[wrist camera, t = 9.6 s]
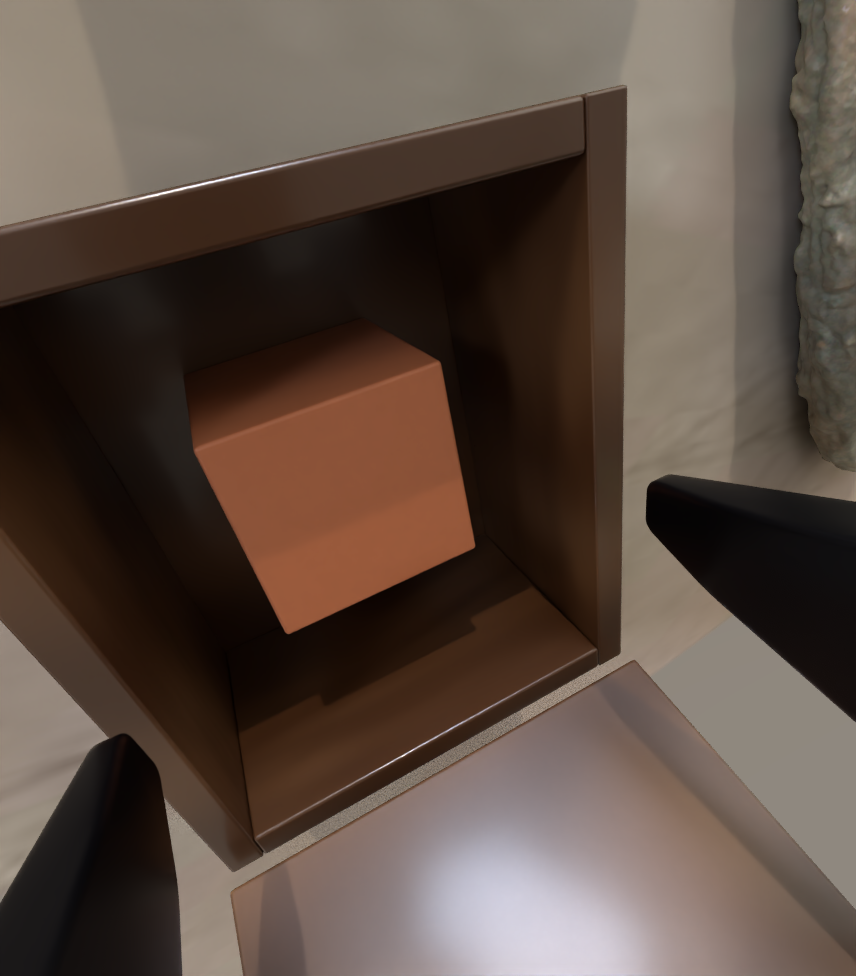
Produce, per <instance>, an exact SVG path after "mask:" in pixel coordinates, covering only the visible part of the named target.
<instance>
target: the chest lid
mask: <svg viewBox="0 0 856 976" xmlns="http://www.w3.org/2000/svg"><path fill="white" fill-rule="evenodd" d="M231 902H232V908H233V914H234V920H235V927H236V933H237V939H238V945H239V951H240V958H241V964H242V970H243V976H856V910H855V909H854V908H853V906H852V905H851V904H850V903H849V902H848V901H847V900H846V898H845V897H844V896H843V895H842V894H841V893H840V892H839V890H838V889H837V888H836V887H835V886H834V885H833V884H832V883H831V882H830V880H829V879H828V878H827V877H826V876H825V875H824V874H823V872H822V871H821V870H820V869H819V868H818V867H817V866H816V864H815V863H814V862H813V861H812V860H811V859H810V858H809V857H808V855H807V854H806V853H805V852H804V851H803V850H802V849H801V848H800V847H799V845H798V844H797V843H796V842H795V841H794V840H793V838H792V837H791V836H790V835H789V834H788V833H787V832H786V830H785V829H784V828H783V827H782V826H781V825H780V824H779V823H778V821H777V820H776V819H775V818H774V817H773V816H772V815H771V813H770V812H769V811H768V810H767V809H766V808H765V807H764V806H763V805H762V803H761V802H760V801H759V800H758V799H757V798H756V796H755V795H754V794H753V793H752V792H751V791H750V790H749V789H748V787H747V786H746V785H745V784H744V783H743V782H742V781H741V780H740V779H739V777H738V776H737V775H736V774H735V773H734V772H733V771H732V769H731V768H730V767H729V766H728V765H727V764H726V763H725V761H724V760H723V759H722V758H721V757H720V756H719V755H718V753H717V752H716V751H715V750H714V749H713V748H712V747H711V746H710V744H709V743H708V742H707V741H706V740H705V739H704V738H703V737H702V735H701V734H700V733H699V732H698V731H697V730H696V729H695V728H694V726H692V724H691V723H690V722H689V721H688V720H687V719H686V717H685V716H684V715H683V714H682V713H681V712H680V711H679V709H678V708H677V707H676V706H675V705H674V704H673V703H672V702H671V700H670V699H669V698H668V697H667V696H666V695H665V693H664V692H663V691H662V690H661V689H660V688H659V687H658V686H657V684H656V683H655V682H654V681H653V680H652V679H651V678H650V676H649V675H648V674H647V673H646V672H645V671H644V670H643V669H642V667H641V666H640V665H639V664H638V663H637V662H636V661H635V660H632V661H630V662H629V663H627V664H625V665H623V666H622V667H620V668H618V669H617V670H615V671H613V672H611V673H610V674H608V675H606V676H604V677H603V678H601V679H599V680H597V681H596V682H594V683H592V684H590V685H589V686H587V687H585V688H583V689H582V690H580V691H578V692H576V693H575V694H573V695H571V696H570V697H568V698H566V699H564V700H563V701H561V702H559V703H557V704H556V705H554V706H552V707H550V708H549V709H547V710H545V711H543V712H542V713H540V714H538V715H536V716H535V717H533V718H531V719H530V720H528V721H526V722H524V723H523V724H521V725H519V726H517V727H516V728H514V729H512V730H510V731H509V732H507V733H505V734H503V735H502V736H500V737H498V738H496V739H495V740H493V741H491V742H489V743H488V744H486V745H484V746H483V747H481V748H479V749H477V750H476V751H474V752H472V753H470V754H469V755H467V756H465V757H463V758H462V759H460V760H458V761H456V762H455V763H453V764H451V765H449V766H448V767H446V768H444V769H442V770H441V771H439V772H437V773H436V774H434V775H432V776H430V777H429V778H427V779H425V780H423V781H422V782H420V783H418V784H416V785H415V786H413V787H411V788H409V789H408V790H406V791H404V792H402V793H401V794H399V795H397V796H396V797H394V798H392V799H390V800H389V801H387V802H385V803H383V804H382V805H380V806H378V807H376V808H375V809H373V810H371V811H369V812H368V813H366V814H364V815H362V816H361V817H359V818H357V819H355V820H354V821H352V822H350V823H349V824H347V825H345V826H343V827H342V828H340V829H338V830H336V831H335V832H333V833H331V834H329V835H328V836H326V837H324V838H322V839H321V840H319V841H317V842H315V843H314V844H312V845H310V846H308V847H307V848H305V849H303V850H302V851H300V852H298V853H296V854H295V855H293V856H291V857H289V858H288V859H286V860H284V861H282V862H281V863H279V864H277V865H275V866H274V867H272V868H270V869H268V870H267V871H265V872H263V873H261V874H260V875H258V876H256V877H255V878H253V879H251V880H249V881H248V882H246V883H244V884H242V885H241V886H239V887H237V888H235V889H234V890H233V891H232V892H231Z"/></svg>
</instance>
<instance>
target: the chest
mask: <svg viewBox="0 0 856 976" xmlns="http://www.w3.org/2000/svg"><path fill="white" fill-rule="evenodd" d="M626 146H627V86H625V85H620V86H616V87H611V88H607V89H603V90H598V91H594V92H589V93H585V94H581V95H576V96H572V97H568V98H563V99H559V100H554V101H550V102H546V103H541V104H537V105H532V106H528V107H524V108H519V109H515V110H510V111H506V112H502V113H497V114H493V115H489V116H484V117H480V118H475V119H471V120H467V121H462V122H458V123H453V124H449V125H445V126H440V127H436V128H431V129H427V130H423V131H418V132H414V133H409V134H405V135H401V136H396V137H392V138H387V139H383V140H379V141H374V142H370V143H365V144H361V145H357V146H352V147H348V148H344V149H339V150H335V151H330V152H326V153H322V154H317V155H313V156H308V157H304V158H300V159H295V160H291V161H286V162H282V163H278V164H273V165H269V166H264V167H260V168H256V169H251V170H247V171H242V172H238V173H234V174H229V175H225V176H220V177H216V178H212V179H207V180H203V181H198V182H194V183H190V184H185V185H181V186H177V187H172V188H168V189H163V190H159V191H155V192H150V193H146V194H141V195H137V196H133V197H128V198H124V199H119V200H115V201H111V202H106V203H102V204H97V205H93V206H89V207H84V208H80V209H75V210H71V211H67V212H62V213H58V214H53V215H49V216H45V217H40V218H36V219H31V220H27V221H23V222H18V223H14V224H10V225H5V226H1V227H0V620H1V621H2V622H3V623H4V625H5V626H6V627H7V628H8V629H9V630H10V631H11V632H12V633H13V634H14V635H15V636H16V638H17V639H18V640H19V641H20V642H21V643H22V644H23V645H24V646H25V647H26V648H27V649H28V651H29V652H30V653H31V654H32V655H33V656H34V657H35V658H36V659H37V660H38V661H39V663H40V664H41V665H42V666H43V667H44V668H45V669H46V670H47V671H48V672H49V673H50V674H51V676H52V677H53V678H54V679H55V680H56V681H57V682H58V683H59V684H60V685H61V686H62V687H63V689H64V690H65V691H66V692H67V693H68V694H69V695H70V696H71V697H72V698H73V699H74V701H75V702H76V703H77V704H78V705H79V706H80V707H81V708H82V709H83V710H84V711H85V712H86V714H87V715H88V716H89V717H90V718H91V719H92V720H93V721H94V722H95V723H96V724H97V725H98V727H99V728H100V729H101V730H102V731H103V732H104V733H105V734H106V735H107V736H108V737H109V738H112V737H114V736H116V735H118V734H121V733H126V734H128V735H130V736H131V737H132V738H133V739H134V740H135V741H136V742H137V744H138V745H139V746H140V747H141V748H142V749H143V750H144V751H145V753H146V754H147V755H148V756H149V757H150V758H151V759H152V761H153V762H154V763H155V765H156V766H157V769H158V771H159V774H160V778H161V783H162V789H163V796H164V798H165V799H166V800H167V801H168V803H169V804H170V805H171V806H172V807H173V808H174V809H175V810H176V811H177V812H178V813H179V815H180V816H181V817H182V818H183V819H184V820H185V821H186V822H187V823H188V824H189V825H190V826H191V828H192V829H193V830H194V831H195V832H196V833H197V834H198V835H199V836H200V837H201V838H202V839H203V841H204V842H205V843H206V844H207V845H208V846H209V847H210V848H211V849H212V850H213V851H214V853H215V854H216V855H217V856H218V857H219V858H220V859H221V860H222V861H223V862H224V863H225V864H226V866H227V867H228V868H229V869H230V870H231V871H232V872H235V871H237V870H239V869H241V868H242V867H244V866H246V865H248V864H249V863H251V862H253V861H255V860H256V859H258V858H260V857H262V856H263V851H264V853H268V852H270V851H272V850H274V849H275V848H277V847H279V846H281V845H283V844H284V843H286V842H288V841H290V840H291V839H293V838H295V837H297V836H298V835H300V834H302V833H304V832H306V831H307V830H309V829H311V828H313V827H314V826H316V825H318V824H320V823H321V822H323V821H325V820H327V819H328V818H330V817H332V816H334V815H336V814H337V813H339V812H341V811H343V810H344V809H346V808H348V807H350V806H351V805H353V804H355V803H357V802H358V801H360V800H362V799H364V798H366V797H367V796H369V795H371V794H373V793H374V792H376V791H378V790H380V789H381V788H383V787H385V786H387V785H389V784H390V783H392V782H394V781H396V780H397V779H399V778H401V777H403V776H404V775H406V774H408V773H410V772H411V771H413V770H415V769H417V768H419V767H420V766H422V765H424V764H426V763H427V762H429V761H431V760H433V759H434V758H436V757H438V756H440V755H442V754H443V753H445V752H447V751H449V750H450V749H452V748H454V747H456V746H457V745H459V744H461V743H463V742H464V741H466V740H468V739H470V738H472V737H473V736H475V735H477V734H479V733H480V732H482V731H484V730H486V729H487V728H489V727H491V726H493V725H494V724H496V723H498V722H500V721H502V720H503V719H505V718H507V717H509V716H510V715H512V714H514V713H516V712H517V711H519V710H521V709H523V708H525V707H526V706H528V705H530V704H532V703H533V702H535V701H537V700H539V699H540V698H542V697H544V696H546V695H547V694H549V693H551V692H553V691H555V690H556V689H558V688H560V687H562V686H563V685H565V684H567V683H569V682H570V681H572V680H574V679H576V678H577V677H579V676H581V675H583V674H585V673H586V672H588V671H590V670H592V669H593V668H595V667H597V665H598V664H599V665H601V664H603V663H605V662H607V661H608V660H610V659H612V658H614V657H616V656H617V655H619V654H620V653H621V579H622V492H623V406H624V319H625V233H626ZM361 318H365V319H367V320H368V321H370V322H372V323H374V324H375V325H377V326H379V327H381V328H382V329H384V330H386V331H388V332H389V333H391V334H393V335H395V336H397V337H398V338H400V339H402V340H404V341H405V342H407V343H409V344H411V345H412V346H414V347H416V348H418V349H419V350H421V351H423V352H425V353H426V354H428V355H430V356H432V357H433V358H435V359H437V360H439V361H440V363H441V366H442V372H443V377H444V382H445V388H446V393H447V398H448V403H449V409H450V414H451V419H452V425H453V430H454V435H455V440H456V446H457V451H458V456H459V462H460V467H461V472H462V477H463V483H464V488H465V493H466V499H467V504H468V509H469V514H470V520H471V525H472V530H473V536H474V541H475V548H474V549H472V550H469V551H467V552H465V553H463V554H461V555H459V556H457V557H454V558H452V559H450V560H448V561H446V562H444V563H441V564H439V565H437V566H435V567H433V568H431V569H429V570H426V571H424V572H422V573H420V574H418V575H416V576H414V577H411V578H409V579H407V580H405V581H403V582H401V583H399V584H396V585H394V586H392V587H390V588H388V589H386V590H383V591H381V592H379V593H377V594H375V595H373V596H371V597H368V598H366V599H364V600H362V601H360V602H358V603H356V604H353V605H351V606H349V607H347V608H345V609H343V610H340V611H338V612H336V613H334V614H332V615H330V616H328V617H325V618H323V619H321V620H319V621H317V622H315V623H313V624H310V625H308V626H306V627H304V628H302V629H300V630H298V631H295V632H293V633H291V634H287V633H286V632H285V631H284V629H283V627H282V625H281V623H280V621H279V619H278V617H277V615H276V613H275V611H274V609H273V607H272V605H271V603H270V601H269V599H268V598H267V596H266V594H265V592H264V590H263V588H262V586H261V584H260V582H259V580H258V578H257V576H256V574H255V572H254V570H253V568H252V566H251V564H250V562H249V560H248V558H247V556H246V554H245V552H244V550H243V548H242V546H241V544H240V542H239V540H238V538H237V536H236V534H235V532H234V530H233V528H232V526H231V524H230V522H229V521H228V519H227V517H226V515H225V513H224V511H223V509H222V507H221V505H220V503H219V501H218V499H217V497H216V495H215V493H214V491H213V489H212V487H211V485H210V483H209V481H208V479H207V477H206V475H205V473H204V471H203V469H202V467H201V465H200V463H199V461H198V459H197V457H196V455H195V453H194V450H193V443H192V436H191V429H190V422H189V415H188V408H187V400H186V393H185V386H184V379H183V376H184V375H186V374H189V373H192V372H195V371H198V370H201V369H204V368H208V367H211V366H214V365H217V364H220V363H223V362H226V361H229V360H233V359H236V358H239V357H242V356H245V355H248V354H251V353H254V352H258V351H261V350H264V349H267V348H270V347H273V346H276V345H279V344H283V343H286V342H289V341H292V340H295V339H298V338H301V337H304V336H308V335H311V334H314V333H317V332H320V331H323V330H326V329H329V328H333V327H336V326H339V325H342V324H345V323H348V322H351V321H354V320H358V319H361Z"/></svg>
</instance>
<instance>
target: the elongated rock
mask: <svg viewBox="0 0 856 976" xmlns="http://www.w3.org/2000/svg"><path fill="white" fill-rule="evenodd" d="M797 1H798V4H799V11H798V18H799V21H800V22H801V28H802V32H801V35H802V38H801V40H800V43H799V46H798V49H797V52H796V56H795V66H796V70H797V74H796V75H795V76H794V77H793V79H792V92H791V95H790V109H791V111H792V114H793V116H794V117H795V119H796V120H797V123H798V128H799V132H798V137H799V140H800V144H801V151H802V154H801V161H802V163H803V167H802V171H801V174H800V181H801V191H802V194H803V196H804V203H803V206H802V209H801V210H800V212H799V214H798V218H799V219H800V220H801V221H802V223H803V230H802V232H801V235H800V237H801V241H800V244H799V246H798V247H797V248H796V251H795V254H794V269H795V272H796V274H798V276H797V282H796V287H795V289H796V296H797V303H798V305H799V311H800V313H801V320H800V331H799V340H800V351H799V356H798V363H797V366H798V368H799V371H798V373H797V375H796V382H797V384H798V386H799V391H798V394H799V395H800V396H802V397H804V398H806V400H807V402H808V408H809V409H808V419H809V424H810V430H809V431H810V434H811V435H812V437H813V439H814V440H815V442H816V444H817V446H818V449H819V453H820V454H821V455H822V458H823V459H824V460H827V461H829V462H832V463H833V464H834V465H835V466H836V467H837V468H840V469H842V470H847V471H852V472H856V0H797Z"/></svg>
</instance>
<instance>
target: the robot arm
mask: <svg viewBox="0 0 856 976" xmlns="http://www.w3.org/2000/svg"><path fill="white" fill-rule="evenodd" d="M646 522H647V525H648V527H649V529H650V531H651V532H652V533H653V534H654V535H655V536H656V537H657V538H658V539H659V541H660V542H661V543H662V544H663V545H664V546H665V547H666V548H667V549H668V550H669V551H670V552H671V553H672V554H673V556H674V557H675V558H676V559H677V560H678V561H679V562H680V563H681V564H682V565H683V566H684V567H685V568H686V569H687V570H688V572H689V573H690V574H691V575H692V576H693V577H694V578H695V579H696V580H697V581H698V582H699V583H700V584H701V585H702V586H703V587H704V588H705V589H706V590H707V591H708V592H709V593H710V594H711V595H712V596H713V597H714V598H715V599H716V600H717V601H718V602H720V603H721V604H722V605H723V606H724V607H725V608H726V609H727V610H729V611H730V612H731V613H732V614H733V615H734V616H735V617H737V618H738V619H739V620H740V621H741V622H742V623H743V624H745V625H746V626H747V627H748V628H749V629H750V630H751V631H752V632H754V633H755V634H756V635H757V636H758V637H759V638H760V639H762V640H763V641H764V642H765V643H766V644H767V645H768V646H770V647H771V648H772V649H773V650H774V651H775V652H776V653H778V654H779V655H780V656H781V657H782V658H783V659H784V660H786V661H787V662H788V663H789V664H790V665H791V666H792V667H793V668H795V669H796V670H797V671H798V672H799V673H800V674H801V675H802V676H804V677H805V678H806V679H807V680H808V681H809V682H810V683H812V684H813V685H814V686H815V687H816V688H817V689H818V690H819V691H821V692H822V693H823V694H824V695H825V696H826V697H827V698H829V699H830V700H831V701H832V702H833V703H834V704H836V705H837V706H838V707H839V708H840V709H841V710H842V711H844V713H846V714H847V715H848V716H849V717H850V718H851V719H853V720H854V721H855V722H856V502H853V501H846V500H840V499H833V498H826V497H820V496H813V495H806V494H800V493H793V492H786V491H780V490H773V489H766V488H760V487H753V486H746V485H739V484H733V483H726V482H719V481H713V480H706V479H699V478H693V477H686V476H679V475H672V474H671V475H665V476H663V477H661V478H659V479H657V480H655V481H653V482H651V483H650V484H649V486H648V488H647V499H646ZM0 976H182V958H181V934H180V911H179V896H178V885H177V878H176V870H175V864H174V858H173V852H172V845H171V839H170V833H169V827H168V820H167V814H166V808H165V802H164V796H163V789H162V783H161V778H160V774H159V771H158V769H157V766H156V765H155V763H154V762H153V761H152V759H151V758H150V757H149V756H148V755H147V754H146V753H145V751H144V750H143V749H142V748H141V747H140V746H139V745H138V744H137V742H136V741H135V740H134V739H133V738H132V737H131V736H130V735H128V734H126V733H121V734H118V735H116V736H114V737H112V738H109V739H107V740H105V741H103V742H101V743H99V744H97V745H95V746H94V747H93V748H92V749H91V750H90V751H89V753H88V754H87V756H86V757H85V759H84V761H83V763H82V764H81V766H80V768H79V769H78V771H77V773H76V775H75V776H74V778H73V780H72V781H71V783H70V785H69V787H68V788H67V790H66V792H65V793H64V795H63V797H62V799H61V800H60V802H59V804H58V805H57V807H56V809H55V810H54V812H53V814H52V816H51V817H50V819H49V821H48V822H47V824H46V826H45V828H44V829H43V831H42V833H41V834H40V836H39V838H38V840H37V841H36V843H35V845H34V846H33V848H32V850H31V851H30V853H29V855H28V857H27V858H26V860H25V862H24V863H23V865H22V867H21V869H20V870H19V872H18V874H17V875H16V877H15V879H14V881H13V882H12V884H11V886H10V887H9V889H8V891H7V893H6V894H5V896H4V898H3V899H2V901H1V903H0Z"/></svg>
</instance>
